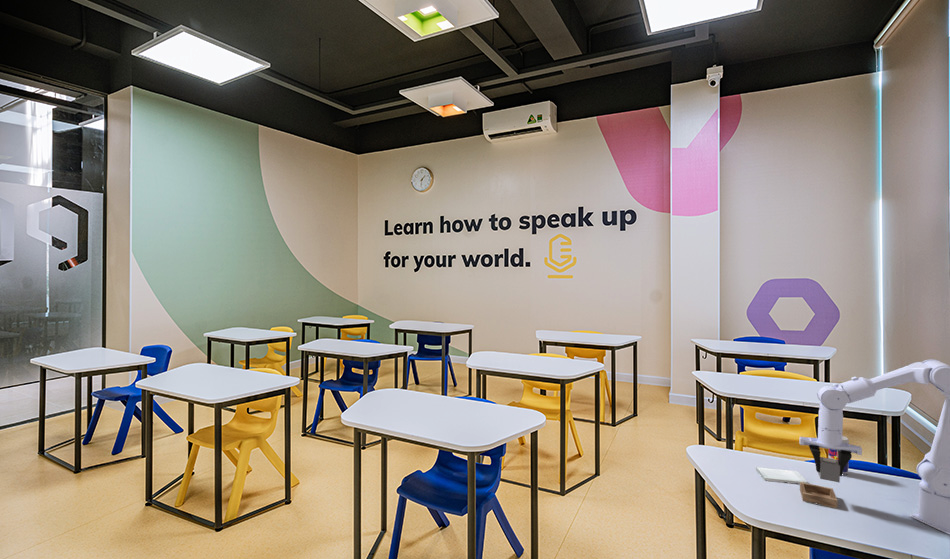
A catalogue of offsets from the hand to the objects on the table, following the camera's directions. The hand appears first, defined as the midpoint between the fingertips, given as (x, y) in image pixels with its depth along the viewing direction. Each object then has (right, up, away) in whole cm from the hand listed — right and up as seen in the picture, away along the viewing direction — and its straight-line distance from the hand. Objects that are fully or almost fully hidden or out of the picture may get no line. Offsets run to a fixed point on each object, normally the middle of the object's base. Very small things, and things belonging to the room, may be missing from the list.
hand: (828, 472), depth 136 cm
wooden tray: (-2, -9, +2) cm, 9 cm away
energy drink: (+18, -8, +19) cm, 28 cm away
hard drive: (-4, -9, +16) cm, 18 cm away
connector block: (0, -1, 0) cm, 1 cm away
